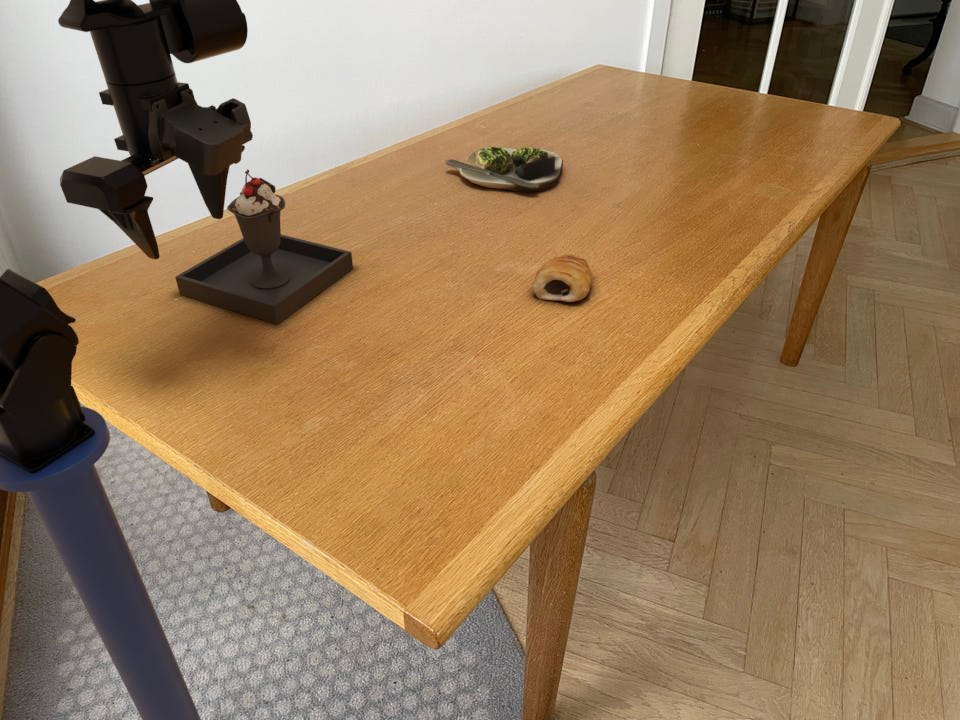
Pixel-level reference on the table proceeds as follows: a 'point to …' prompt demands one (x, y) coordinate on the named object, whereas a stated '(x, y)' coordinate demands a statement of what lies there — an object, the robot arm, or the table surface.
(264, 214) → the sundae
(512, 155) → the salad plate
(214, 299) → the baking tray
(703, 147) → the table surface
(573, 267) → the pastry
